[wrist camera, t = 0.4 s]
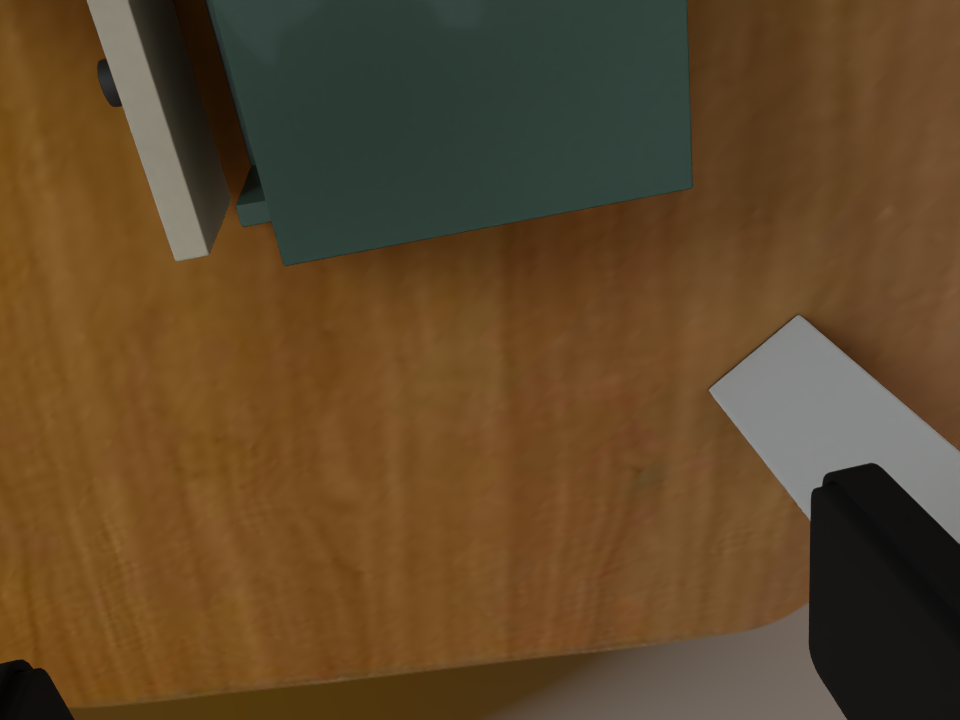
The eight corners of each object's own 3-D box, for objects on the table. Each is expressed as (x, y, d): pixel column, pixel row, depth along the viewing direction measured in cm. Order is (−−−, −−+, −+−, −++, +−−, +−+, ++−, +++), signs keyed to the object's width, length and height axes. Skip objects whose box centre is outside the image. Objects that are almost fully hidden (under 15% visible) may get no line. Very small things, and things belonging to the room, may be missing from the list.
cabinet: (295, 196, 37) (283, 267, 29) (209, -137, 31) (166, -157, 23) (622, 135, 38) (693, 188, 30) (600, -201, 32) (681, -240, 24)
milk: (706, 388, 44) (982, 748, 25) (799, 310, 43) (1168, 627, 24) (769, 453, 47) (1065, 826, 28) (859, 382, 46) (1237, 721, 26)
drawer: (174, 210, 35) (140, 268, 29) (73, -97, 30) (6, -102, 24) (519, 146, 36) (554, 190, 30) (480, -164, 31) (513, -185, 25)
